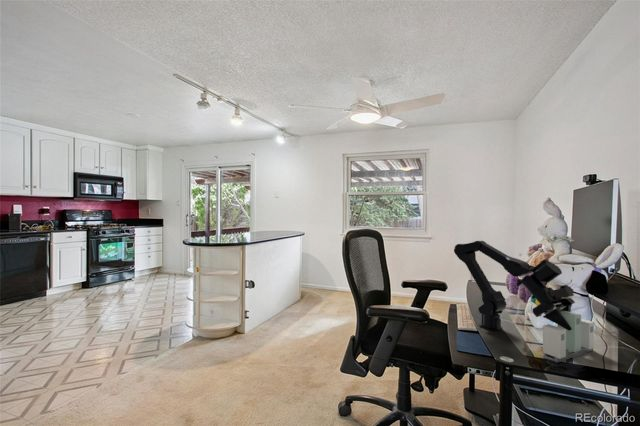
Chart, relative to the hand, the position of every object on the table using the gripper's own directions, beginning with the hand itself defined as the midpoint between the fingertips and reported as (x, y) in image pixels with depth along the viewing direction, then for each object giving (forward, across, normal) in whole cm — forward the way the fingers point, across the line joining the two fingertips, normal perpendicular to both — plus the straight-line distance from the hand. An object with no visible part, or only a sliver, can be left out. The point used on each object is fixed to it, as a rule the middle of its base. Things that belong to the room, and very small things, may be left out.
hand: (573, 328), depth 104 cm
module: (+4, 0, +6) cm, 7 cm away
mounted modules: (+5, 0, +6) cm, 8 cm away
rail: (+6, 0, +7) cm, 9 cm away
